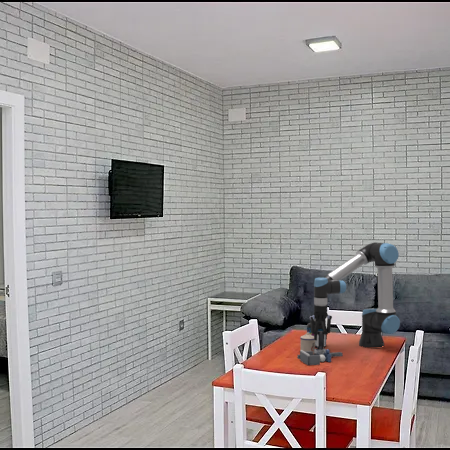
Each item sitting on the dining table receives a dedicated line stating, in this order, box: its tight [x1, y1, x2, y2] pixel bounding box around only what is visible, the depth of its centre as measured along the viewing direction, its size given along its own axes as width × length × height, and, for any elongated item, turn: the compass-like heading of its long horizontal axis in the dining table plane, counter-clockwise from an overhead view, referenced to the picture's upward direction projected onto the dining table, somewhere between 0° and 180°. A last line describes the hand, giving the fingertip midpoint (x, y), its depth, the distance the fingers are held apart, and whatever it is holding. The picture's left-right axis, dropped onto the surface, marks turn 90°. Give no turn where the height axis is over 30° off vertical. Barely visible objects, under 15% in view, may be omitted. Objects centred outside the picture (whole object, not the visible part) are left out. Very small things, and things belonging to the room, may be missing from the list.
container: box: [306, 318, 327, 349], centre depth 373 cm, size 12×12×17 cm
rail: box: [296, 351, 343, 360], centre depth 345 cm, size 27×2×2 cm, turn 105°
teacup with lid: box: [299, 332, 316, 354], centre depth 358 cm, size 12×9×12 cm
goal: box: [299, 350, 321, 366], centre depth 333 cm, size 7×11×6 cm, turn 15°
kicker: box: [313, 331, 332, 363], centre depth 340 cm, size 6×14×14 cm, turn 15°
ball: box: [320, 355, 326, 363], centre depth 335 cm, size 4×4×4 cm
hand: (320, 345), depth 345 cm, fingers closed on kicker, 4 cm apart
